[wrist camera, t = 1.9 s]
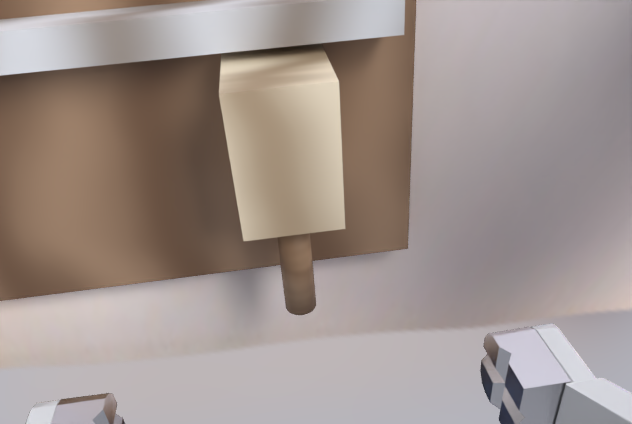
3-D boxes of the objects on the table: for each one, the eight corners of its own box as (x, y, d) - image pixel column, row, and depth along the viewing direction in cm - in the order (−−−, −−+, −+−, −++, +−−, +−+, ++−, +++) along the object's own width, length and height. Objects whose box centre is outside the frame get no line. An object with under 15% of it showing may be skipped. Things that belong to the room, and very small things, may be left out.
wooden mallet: (319, 40, 23) (339, 81, 18) (332, 253, 29) (349, 321, 24) (221, 49, 22) (218, 94, 18) (255, 263, 28) (259, 333, 24)
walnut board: (407, -46, 23) (435, -31, 19) (400, 232, 30) (419, 276, 27) (-156, 4, 21) (-225, 31, 18) (-13, 284, 29) (-44, 337, 26)
